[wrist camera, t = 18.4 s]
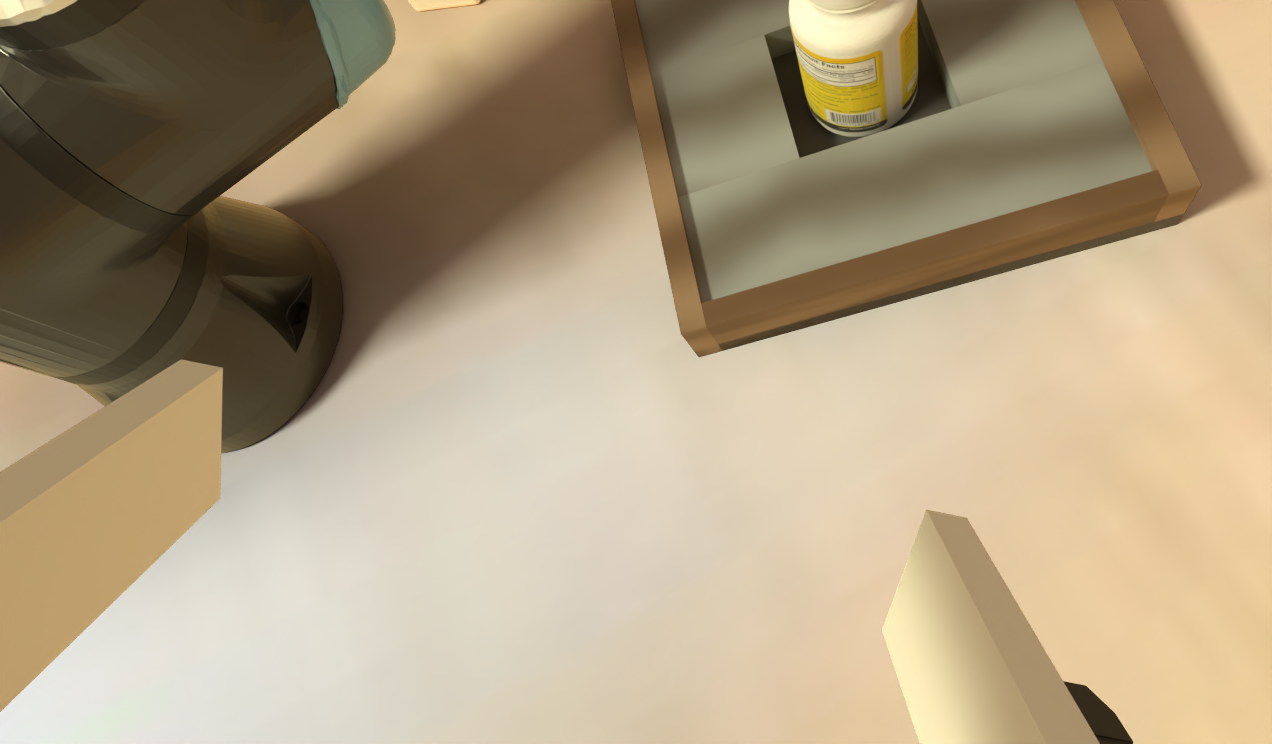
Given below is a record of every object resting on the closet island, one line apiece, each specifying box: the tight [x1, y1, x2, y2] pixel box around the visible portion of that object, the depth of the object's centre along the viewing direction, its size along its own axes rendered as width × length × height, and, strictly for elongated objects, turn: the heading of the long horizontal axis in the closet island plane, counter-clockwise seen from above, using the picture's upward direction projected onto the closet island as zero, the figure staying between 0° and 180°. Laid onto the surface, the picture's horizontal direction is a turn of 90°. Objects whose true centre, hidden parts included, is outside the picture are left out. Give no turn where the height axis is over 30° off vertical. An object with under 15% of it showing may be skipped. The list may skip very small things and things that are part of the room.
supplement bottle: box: [789, 0, 918, 137], centre depth 39 cm, size 5×5×10 cm
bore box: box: [611, 0, 1201, 357], centre depth 42 cm, size 22×22×4 cm
